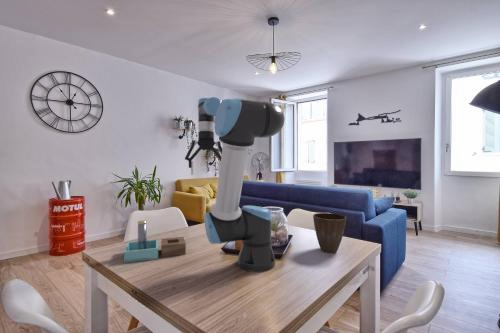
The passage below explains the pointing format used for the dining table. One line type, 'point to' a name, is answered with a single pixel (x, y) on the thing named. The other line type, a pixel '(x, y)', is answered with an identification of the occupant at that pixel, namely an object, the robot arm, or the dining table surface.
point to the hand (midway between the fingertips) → (206, 174)
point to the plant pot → (329, 230)
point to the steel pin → (142, 235)
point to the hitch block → (173, 246)
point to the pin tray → (141, 251)
